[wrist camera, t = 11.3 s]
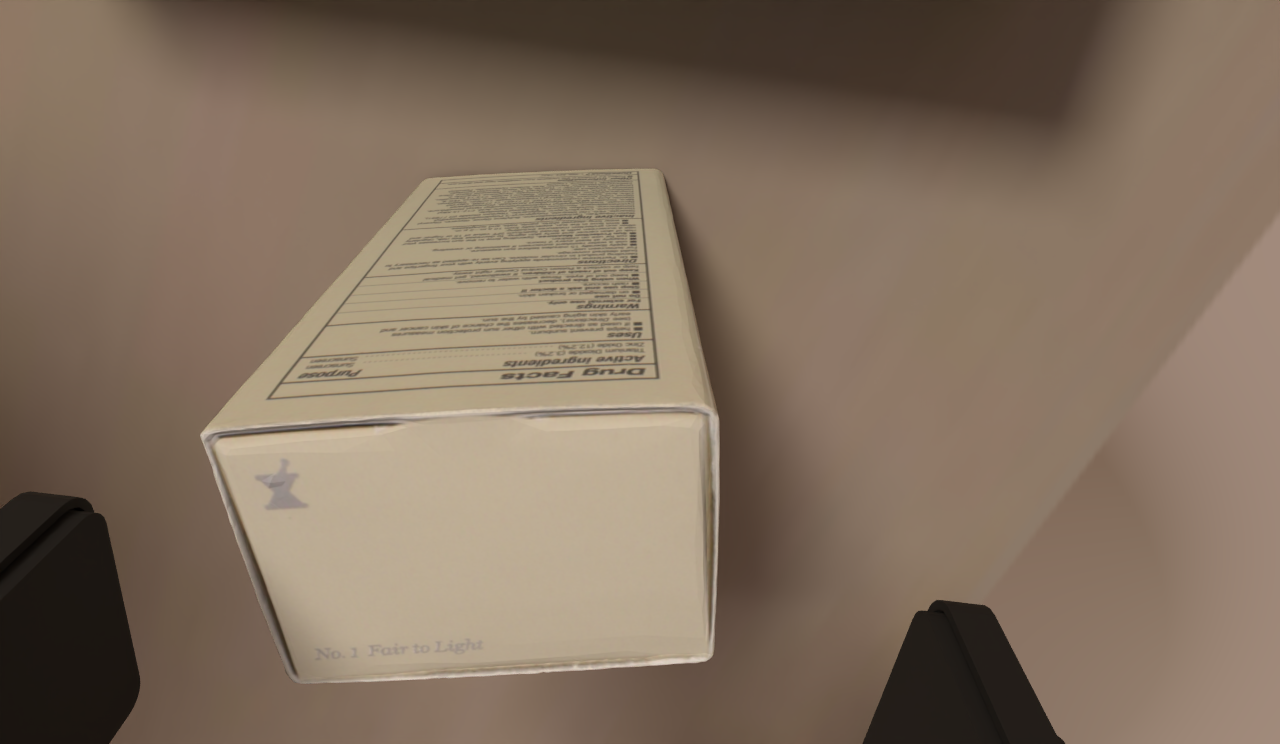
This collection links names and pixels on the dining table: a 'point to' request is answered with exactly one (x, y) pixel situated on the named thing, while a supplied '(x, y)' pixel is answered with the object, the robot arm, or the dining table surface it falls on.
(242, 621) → the dining table surface
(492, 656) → the skincare box
